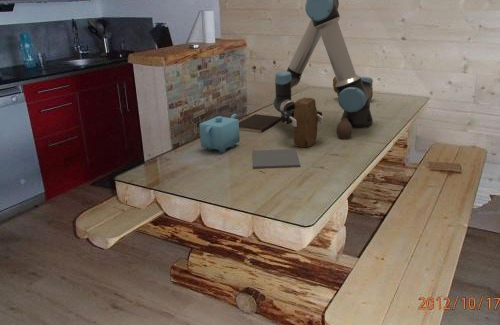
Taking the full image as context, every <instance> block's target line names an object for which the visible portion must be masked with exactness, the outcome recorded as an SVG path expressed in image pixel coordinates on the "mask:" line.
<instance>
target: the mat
mask: <svg viewBox="0 0 500 325" xmlns="http://www.w3.org/2000/svg"><path fill="white" fill-rule="evenodd" d="M252 166H253V167H252V169H254V170H255V169H277V168H278V169H279V168H280V169H281V168H283V169H284V168H300V167H301V163H300V158H299V155H298V151H297V149H296V148H289V149H287V148H285V149H284V148H282V149H263V150H262V149H257V150H252Z"/></svg>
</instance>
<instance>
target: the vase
mask: <svg viewBox="0 0 500 325" xmlns="http://www.w3.org/2000/svg"><path fill="white" fill-rule="evenodd" d="M341 118H342V117H341ZM352 134H353V128H352V126H351V124H350V122H349V121H348V119H347V118H342V120H341V119H340V121H339V122H338V124H337V125H336V135H337V136H338V138H339V139H341V140H346V139H349V138H350V137H351V136H352Z"/></svg>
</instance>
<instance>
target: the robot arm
mask: <svg viewBox="0 0 500 325" xmlns="http://www.w3.org/2000/svg"><path fill="white" fill-rule="evenodd" d="M339 1H340V0H306V1H305V5H304V6H305V12H306V15H307V17H308V18H309V20H310V21H309V23H308V25H307V27H306V30H305V31H304V34H303V35H302V38H301V39H300V42H299V44H298V46H297V48H296V50H295V53H294V54H293V57H292V59H291V60H290V62H289V65H288V67H287V69H286V70H285V71H284V70H282V71H281V70H280V71H277V72H276V73H275V77H274V78H275V79H274V82H275V84H274V86H275V96H274V98H273V102H272V103H273V104H272V105H273V107H274V109H275V110H276V111H277V112H279V113H280V117H282V121H281V123H285V124H286V125H289V124H290V125H292V127H294V126H295V127H297V120H295V119H294V110H295V102H296V101H293V100H292V89H293V88H294V87H296V86H297V85H298V84H299V83H300V81H301V78H302V75H303V72H304V70H305V68H306V66H307V65H308V62H309V61H310V58H311V57H312V55H313V52H314V50H315V49H316V47H317V45H318V43H319V41H320V39H322V42H323V45H324V48H325V51H326V53H327V56H328V59H329V61H330V64H331V68H332V70H333V73H334V77H335V76H336V79H337V84H336V89H337V92H338V95H339V96H337V102H338V104H339V106H340V108H341V110H343V113H342V116H341V117H340V121H341V120H342V118H347V119H348V121H349V122H350V124H351V126H352V129H364V128H369V127H371V126H373V122H374V120H373V119H374V118H373V117H372V111H371V107H370V106H371V100H370V95H371V85H372V86H373V83H371V78H372V77H368V76H360V75H358V74H356V71H355V68H354V66H353V65H354V64H353V63H352V60H351V56H350V53H349V50H348V48H347V45H346V44H347V43H346V41H345V39H344V38H345V37H344V36H343V32H342V30H341V27H340V24H339V20H340V18H341V15H340V13H339V10H338V9H339V6H340V3H339ZM317 118H318V123H320V124H321V125H322V124H324V117H323V112H322V111H318V110H317Z"/></svg>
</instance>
